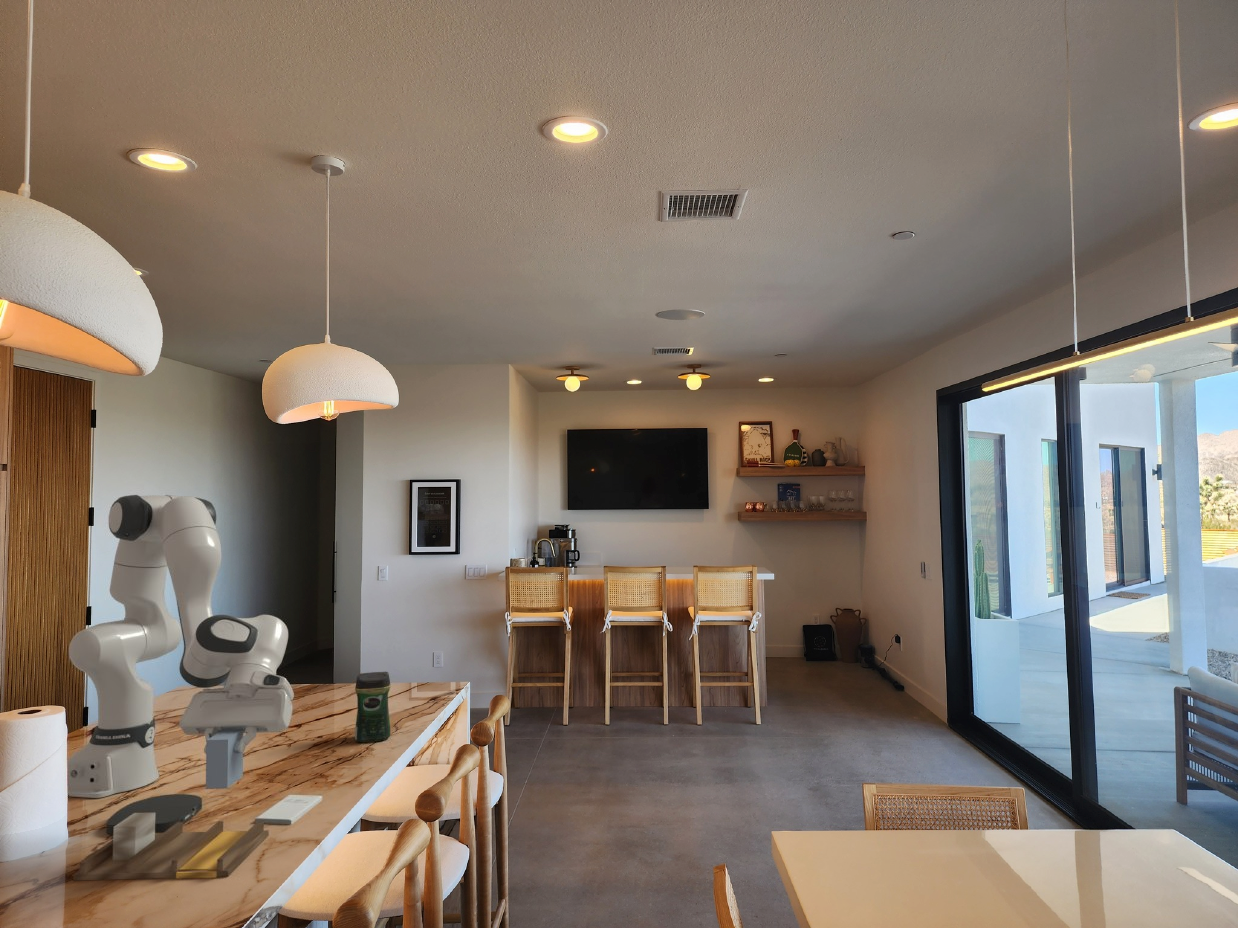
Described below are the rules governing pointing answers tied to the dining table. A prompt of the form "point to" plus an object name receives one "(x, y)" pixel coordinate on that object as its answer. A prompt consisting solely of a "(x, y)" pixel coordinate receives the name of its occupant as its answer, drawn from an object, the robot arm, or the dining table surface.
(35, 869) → the dining table surface
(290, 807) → the external hard drive
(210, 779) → the grey rectangular block
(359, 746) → the dining table surface
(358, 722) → the coffee jar
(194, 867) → the rack
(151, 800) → the media streaming box
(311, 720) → the dining table surface
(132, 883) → the dining table surface
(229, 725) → the robot arm
